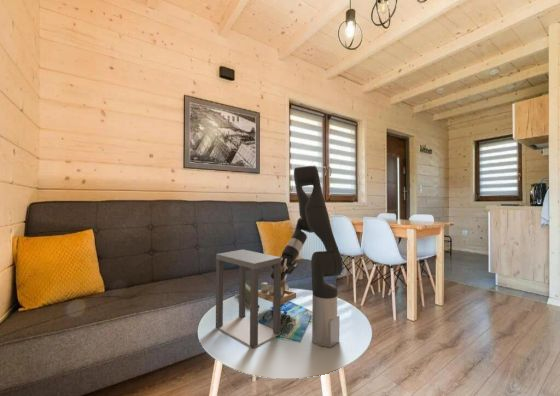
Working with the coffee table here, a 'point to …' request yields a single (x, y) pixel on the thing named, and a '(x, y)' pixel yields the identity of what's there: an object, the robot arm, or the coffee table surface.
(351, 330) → the coffee table surface
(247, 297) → the handheld radio
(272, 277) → the robot arm
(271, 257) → the grey stool
